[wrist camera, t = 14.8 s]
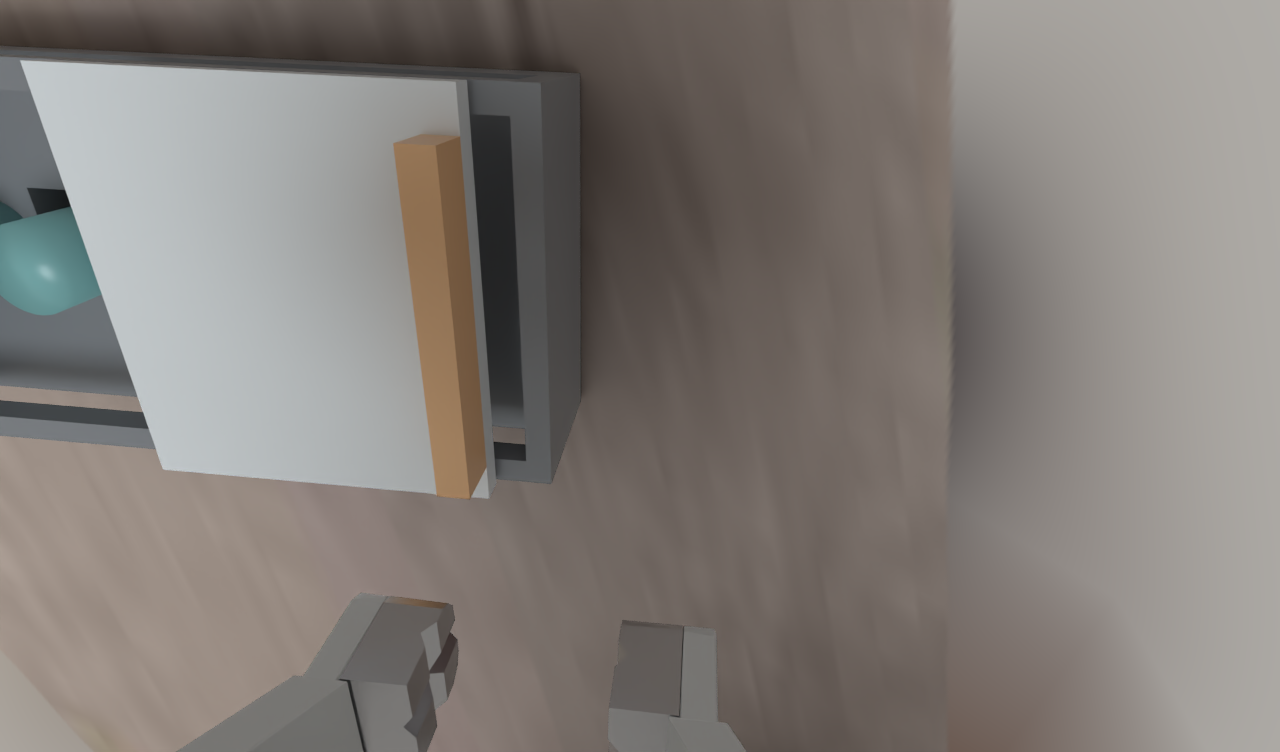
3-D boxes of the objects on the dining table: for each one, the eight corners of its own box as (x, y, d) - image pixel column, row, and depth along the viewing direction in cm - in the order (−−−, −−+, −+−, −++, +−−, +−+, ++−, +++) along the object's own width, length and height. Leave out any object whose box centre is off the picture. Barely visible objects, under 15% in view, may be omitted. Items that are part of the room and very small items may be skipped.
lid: (496, 483, 27) (473, 532, 24) (180, 455, 28) (124, 499, 25) (466, 79, 20) (429, 85, 17) (49, 59, 21) (-48, 62, 18)
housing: (580, 401, 33) (540, 515, 25) (22, 356, 35) (-180, 449, 27) (580, 73, 26) (524, 86, 18) (-113, 40, 28) (-438, 39, 20)
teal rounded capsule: (197, 268, 32) (84, 318, 26) (127, 263, 32) (-1, 312, 26) (176, 192, 30) (51, 227, 24) (102, 187, 30) (-39, 222, 25)
